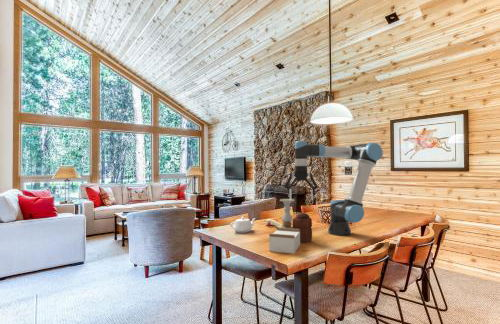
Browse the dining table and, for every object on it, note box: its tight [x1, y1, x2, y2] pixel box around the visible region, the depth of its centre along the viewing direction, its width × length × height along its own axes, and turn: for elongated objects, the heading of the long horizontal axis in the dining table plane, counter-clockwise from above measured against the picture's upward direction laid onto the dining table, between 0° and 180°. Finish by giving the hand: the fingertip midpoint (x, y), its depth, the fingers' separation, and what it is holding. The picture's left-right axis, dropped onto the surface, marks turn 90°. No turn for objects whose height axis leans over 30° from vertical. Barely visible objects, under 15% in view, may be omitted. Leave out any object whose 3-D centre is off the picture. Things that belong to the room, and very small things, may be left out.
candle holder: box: [279, 198, 295, 228], centre depth 195 cm, size 11×11×24 cm
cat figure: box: [263, 218, 284, 228], centre depth 216 cm, size 10×9×25 cm
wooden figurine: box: [291, 212, 313, 244], centre depth 175 cm, size 12×6×18 cm, turn 105°
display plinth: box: [268, 226, 301, 254], centre depth 162 cm, size 14×18×10 cm
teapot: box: [229, 216, 257, 234], centre depth 204 cm, size 22×14×11 cm, turn 124°
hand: (301, 199), depth 175 cm, fingers open, 13 cm apart
